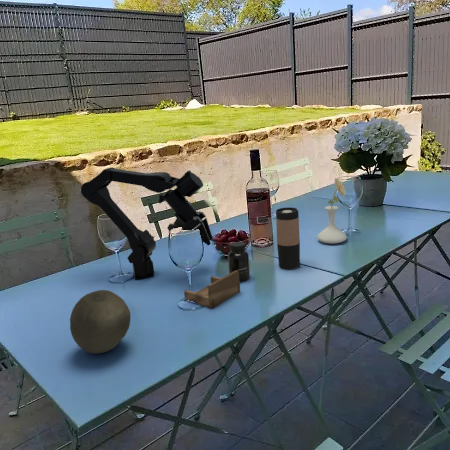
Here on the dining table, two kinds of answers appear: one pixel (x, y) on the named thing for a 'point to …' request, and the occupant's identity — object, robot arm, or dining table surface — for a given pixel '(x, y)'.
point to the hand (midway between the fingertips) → (210, 242)
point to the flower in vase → (333, 220)
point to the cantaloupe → (99, 321)
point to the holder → (216, 291)
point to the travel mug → (288, 238)
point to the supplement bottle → (239, 260)
